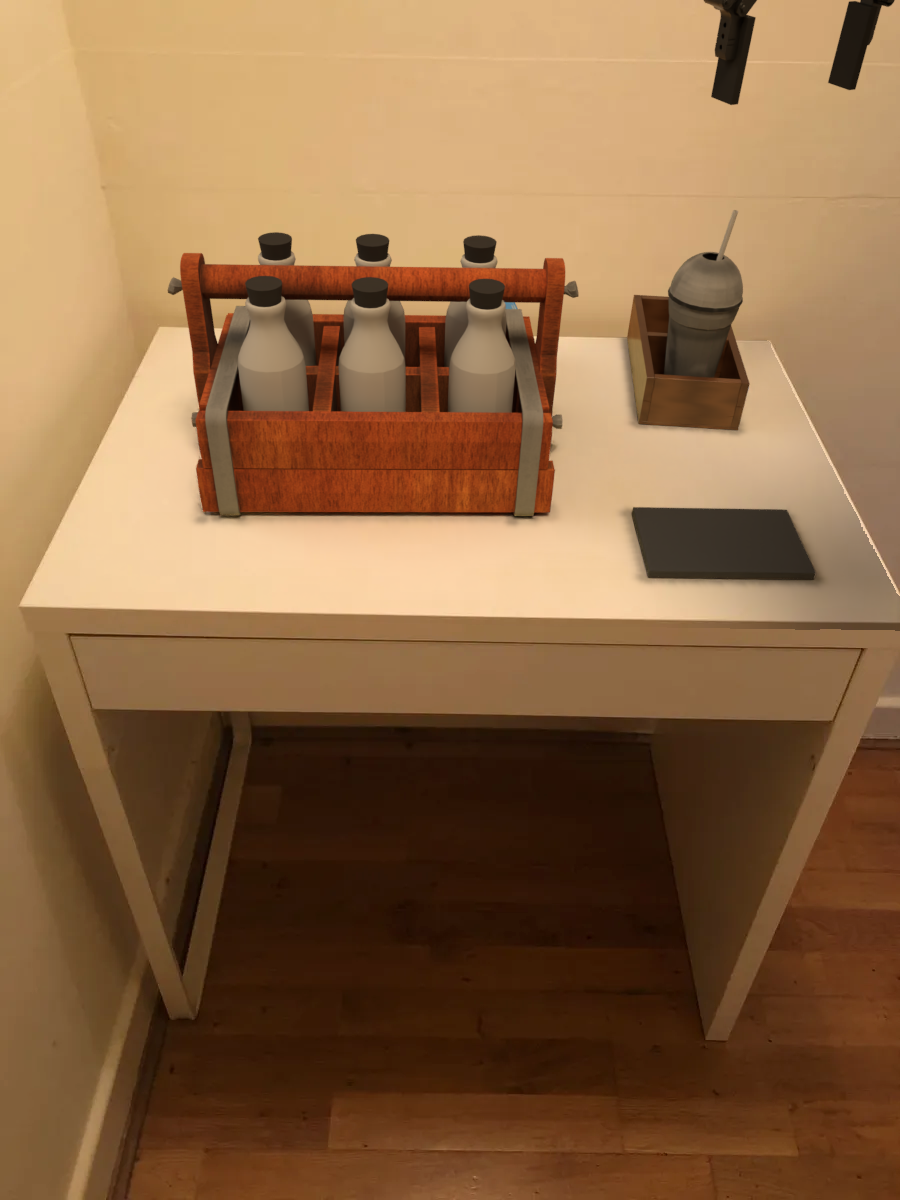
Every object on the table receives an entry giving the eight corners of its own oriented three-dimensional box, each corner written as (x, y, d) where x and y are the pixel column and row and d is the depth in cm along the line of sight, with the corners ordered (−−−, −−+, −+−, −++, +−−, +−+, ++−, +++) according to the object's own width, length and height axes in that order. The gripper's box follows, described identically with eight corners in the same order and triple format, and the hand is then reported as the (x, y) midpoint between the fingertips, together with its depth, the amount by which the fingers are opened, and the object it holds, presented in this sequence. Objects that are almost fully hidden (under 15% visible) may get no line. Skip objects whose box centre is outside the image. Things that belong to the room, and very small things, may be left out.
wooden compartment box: (713, 342, 114) (723, 299, 111) (737, 430, 100) (749, 383, 96) (626, 337, 115) (633, 294, 111) (638, 423, 100) (646, 377, 97)
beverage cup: (667, 375, 107) (703, 188, 94) (729, 396, 104) (775, 206, 91) (636, 402, 103) (670, 209, 90) (700, 424, 100) (745, 228, 87)
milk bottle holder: (212, 398, 102) (184, 209, 89) (547, 401, 103) (567, 215, 90) (177, 520, 86) (137, 311, 73) (574, 520, 87) (602, 316, 75)
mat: (784, 516, 89) (787, 509, 88) (813, 580, 82) (816, 572, 82) (631, 513, 88) (632, 506, 88) (648, 578, 82) (649, 570, 81)
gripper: (935, -217, 80) (857, 71, 94) (691, -224, 71) (645, 95, 85) (1012, -212, 75) (917, 90, 89) (760, -219, 66) (699, 119, 80)
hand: (784, 93), depth 87 cm, fingers open, 13 cm apart
